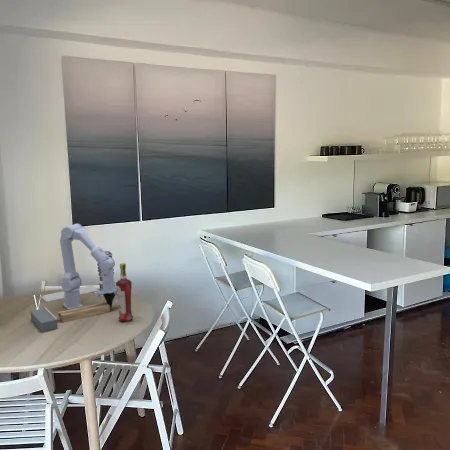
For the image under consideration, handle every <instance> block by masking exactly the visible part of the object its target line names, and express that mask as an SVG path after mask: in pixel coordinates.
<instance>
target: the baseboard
mask: <svg viewBox="0 0 450 450" xmlns="http://www.w3.org/2000/svg"><path fill="white" fill-rule="evenodd" d="M79 291H80V296H81V295H86V294H91V293H94V292H97V291H100V290H99V288H98V287H95V286H94V285H87V286H82V287H80V289H79ZM64 292H65V291H64V290H63V291H59V292H54V293H49V294H45V295H40V294H39V297H38V298H39V299H41V300H42V301H43V302H45V303H49V302H54V301H57V300H58V301H59V300H64Z"/></svg>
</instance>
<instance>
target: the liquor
mask: <svg viewBox="0 0 450 450" xmlns="http://www.w3.org/2000/svg"><path fill="white" fill-rule="evenodd" d="M126 264H127V263H119V269H120V276H119V277H120V279H119V280H117V281H116V282H115V288H116V289H117V292H116V295H117V305H118V319H119V320H120V321H121V322H126V323H127V322H130V321H131V320H132V319H133V318H134V317H133V311H132V309H133V307H132V299H133V298H132V295H133V294H132V293H133V291H132V288H133V287H132V281H131V280H130V279H128V277H127V273H126V272H127V271H126V267H127V265H126Z"/></svg>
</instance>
